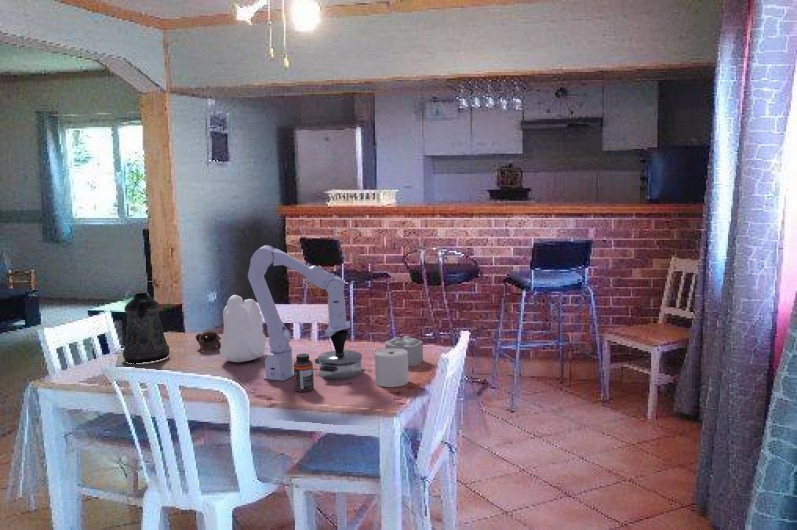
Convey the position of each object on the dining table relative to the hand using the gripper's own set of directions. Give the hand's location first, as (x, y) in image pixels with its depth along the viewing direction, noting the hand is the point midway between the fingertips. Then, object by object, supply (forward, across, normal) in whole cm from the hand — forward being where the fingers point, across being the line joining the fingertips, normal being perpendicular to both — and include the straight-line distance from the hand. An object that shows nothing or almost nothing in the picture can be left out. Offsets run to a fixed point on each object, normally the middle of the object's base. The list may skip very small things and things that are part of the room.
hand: (339, 352), depth 241 cm
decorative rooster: (+7, +8, +42) cm, 43 cm away
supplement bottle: (+7, -19, +3) cm, 21 cm away
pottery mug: (+7, +14, +65) cm, 67 cm away
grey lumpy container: (+8, +19, -15) cm, 25 cm away
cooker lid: (+2, 0, 0) cm, 2 cm away
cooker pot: (+7, 0, 0) cm, 7 cm away
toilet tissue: (+8, -4, -20) cm, 22 cm away
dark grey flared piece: (+6, -5, +78) cm, 78 cm away
